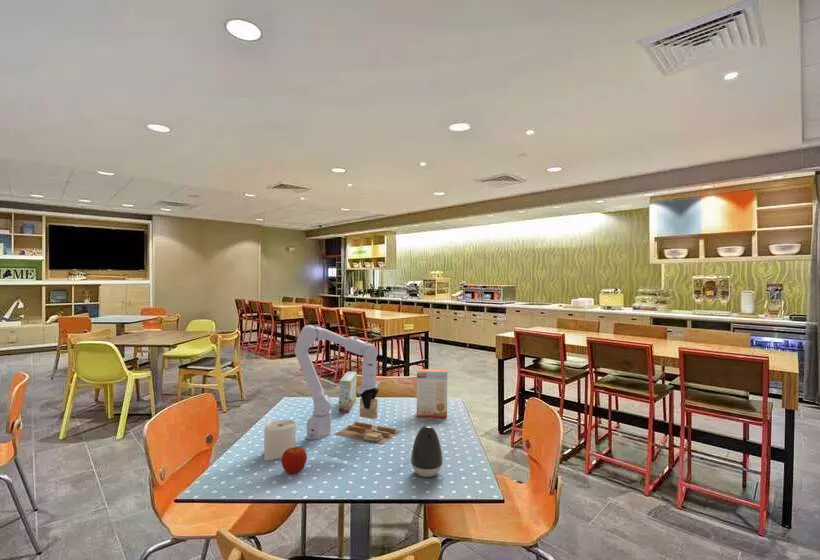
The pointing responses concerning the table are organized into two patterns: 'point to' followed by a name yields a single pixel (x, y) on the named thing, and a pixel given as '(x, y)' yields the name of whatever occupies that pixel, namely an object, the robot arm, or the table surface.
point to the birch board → (371, 411)
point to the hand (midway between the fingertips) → (368, 407)
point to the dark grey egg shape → (426, 452)
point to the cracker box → (432, 393)
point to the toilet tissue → (278, 438)
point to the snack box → (347, 391)
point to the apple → (294, 460)
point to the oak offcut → (373, 435)
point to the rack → (361, 429)
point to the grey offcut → (374, 439)
